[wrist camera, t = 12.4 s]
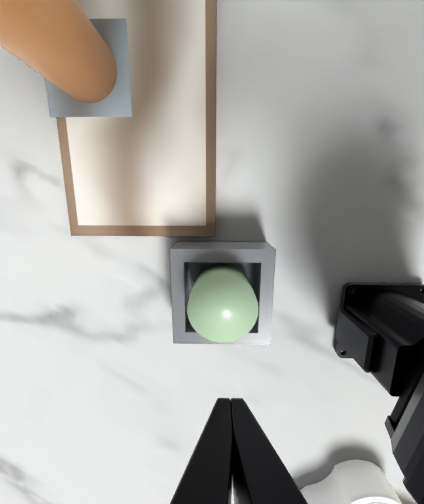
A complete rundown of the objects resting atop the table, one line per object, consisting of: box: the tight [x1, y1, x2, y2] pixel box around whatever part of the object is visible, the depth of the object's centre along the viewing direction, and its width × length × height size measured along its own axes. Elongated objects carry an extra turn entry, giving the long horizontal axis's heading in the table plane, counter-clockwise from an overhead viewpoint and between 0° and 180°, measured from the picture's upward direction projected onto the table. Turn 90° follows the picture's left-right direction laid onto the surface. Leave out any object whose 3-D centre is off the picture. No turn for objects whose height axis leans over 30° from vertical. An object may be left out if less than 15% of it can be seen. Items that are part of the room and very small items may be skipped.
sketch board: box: [45, 0, 217, 236], centre depth 17 cm, size 11×16×1 cm
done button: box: [187, 264, 258, 342], centre depth 16 cm, size 4×4×3 cm
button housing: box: [170, 241, 276, 345], centre depth 18 cm, size 7×7×3 cm
